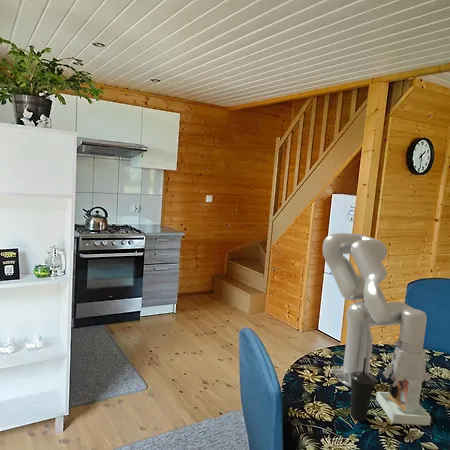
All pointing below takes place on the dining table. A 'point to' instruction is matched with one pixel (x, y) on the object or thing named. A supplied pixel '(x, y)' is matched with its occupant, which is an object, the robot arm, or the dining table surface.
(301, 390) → the dining table surface
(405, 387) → the small box
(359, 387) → the drinking cup
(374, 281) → the robot arm
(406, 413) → the tray
